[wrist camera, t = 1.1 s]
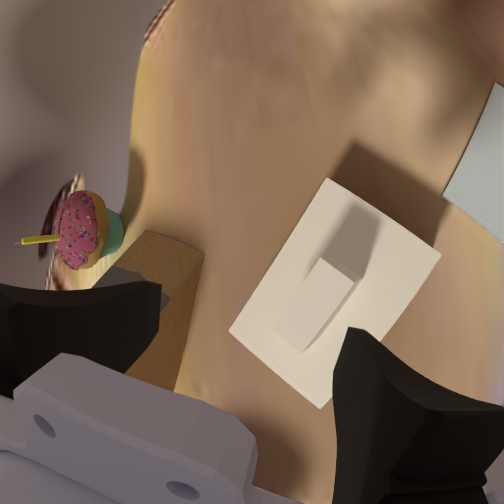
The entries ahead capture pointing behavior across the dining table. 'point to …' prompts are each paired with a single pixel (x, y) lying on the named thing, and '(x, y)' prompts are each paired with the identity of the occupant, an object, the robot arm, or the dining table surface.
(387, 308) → the lid
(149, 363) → the sandwich container
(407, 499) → the robot arm
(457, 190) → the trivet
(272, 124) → the dining table surface
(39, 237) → the cupcake
